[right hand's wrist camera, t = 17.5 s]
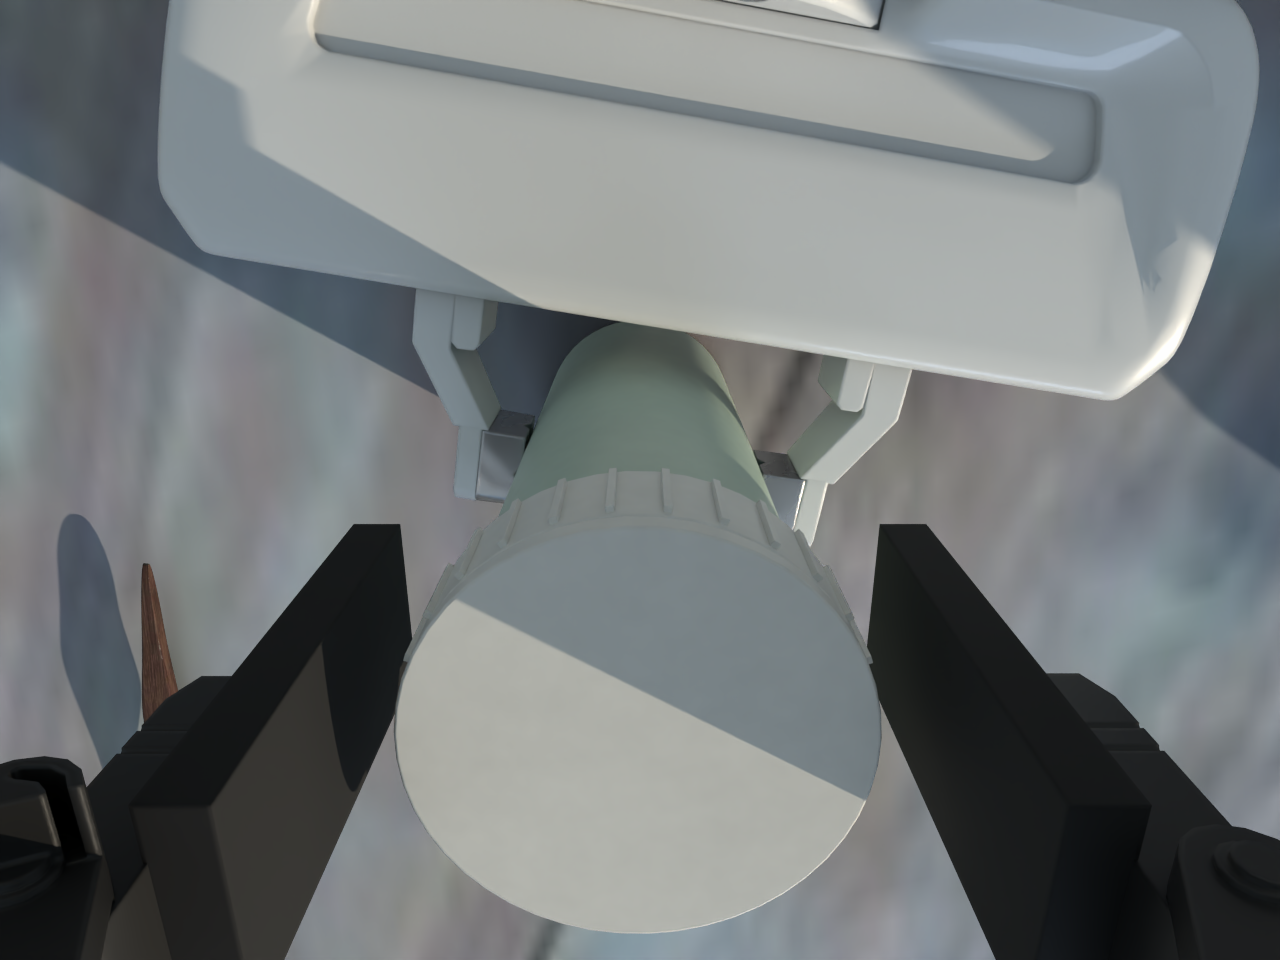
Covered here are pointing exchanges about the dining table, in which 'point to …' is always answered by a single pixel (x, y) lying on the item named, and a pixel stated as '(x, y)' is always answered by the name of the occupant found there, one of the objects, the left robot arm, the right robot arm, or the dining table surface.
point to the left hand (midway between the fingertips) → (634, 515)
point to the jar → (639, 416)
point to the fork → (154, 649)
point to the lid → (637, 706)
